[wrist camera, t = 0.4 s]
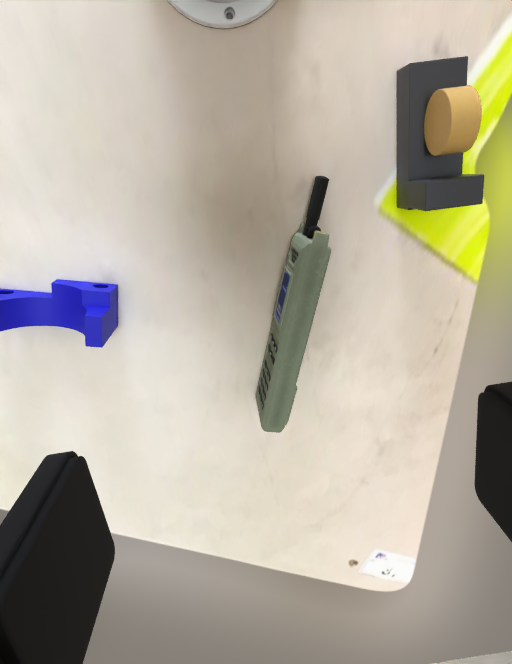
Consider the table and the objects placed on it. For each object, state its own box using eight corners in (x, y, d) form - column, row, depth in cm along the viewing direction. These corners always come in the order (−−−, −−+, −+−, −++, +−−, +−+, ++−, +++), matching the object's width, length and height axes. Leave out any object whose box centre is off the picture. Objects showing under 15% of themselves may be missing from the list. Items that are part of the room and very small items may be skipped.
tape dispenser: (396, 71, 39) (436, 46, 31) (451, 64, 39) (504, 38, 31) (396, 207, 43) (432, 215, 36) (445, 201, 43) (491, 207, 36)
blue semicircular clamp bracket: (117, 284, 44) (101, 301, 38) (117, 325, 46) (102, 347, 40) (-5, 274, 43) (-40, 289, 37) (-1, 316, 44) (-34, 337, 39)
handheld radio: (250, 397, 50) (302, 172, 41) (278, 401, 50) (334, 179, 42) (256, 430, 43) (318, 173, 35) (287, 434, 44) (356, 181, 36)
